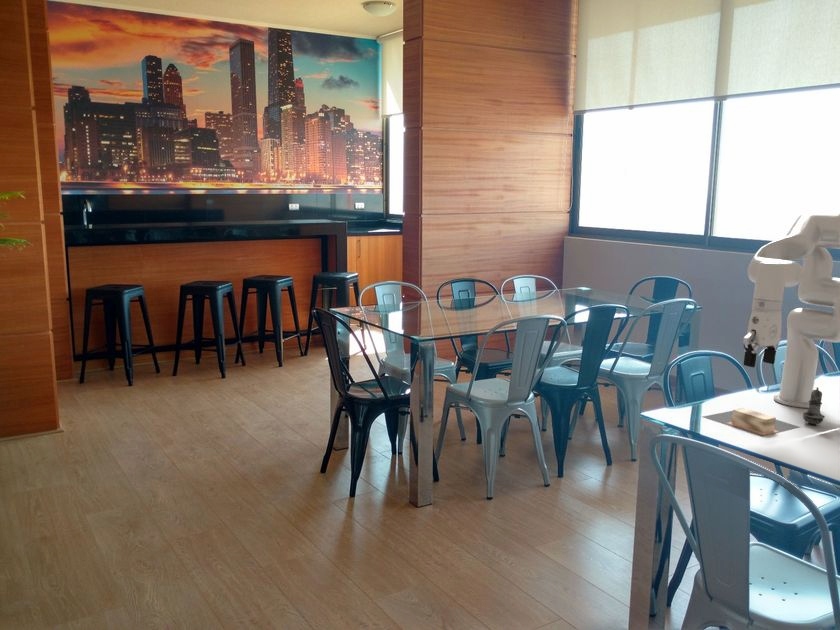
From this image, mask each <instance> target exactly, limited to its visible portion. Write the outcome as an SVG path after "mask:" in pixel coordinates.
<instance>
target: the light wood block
mask: <svg viewBox="0 0 840 630" xmlns="http://www.w3.org/2000/svg"><path fill="white" fill-rule="evenodd" d="M732 411H733V416H732V423H733V424H736V425H739V426H742V427H745V428H748V429H751V430H754V431H758V432H761V433H768V432H772V431H774V427H775V420H777V418H776V417H774V416H772V415H769V414H765V413H762V412H758V411H756V410H752V409H749V408H746V407H741V408H736V409H733V410H732Z"/></svg>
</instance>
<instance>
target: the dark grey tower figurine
mask: <svg viewBox="0 0 840 630" xmlns="http://www.w3.org/2000/svg"><path fill="white" fill-rule="evenodd" d="M822 396H823V392H822V391H820V390H819V386H818V387H816V389H813V391H812V393H811V399H810V401H809V408H807V410H806V411H803V412H802V418H803V420H804V422H805V423H807V425H809V426H812V427H816V426H817V425H819V424H821V423H822V422H823V420H824V419H825V415H824V414H822V412H821V405H823V402H822Z"/></svg>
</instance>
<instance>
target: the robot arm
mask: <svg viewBox="0 0 840 630" xmlns="http://www.w3.org/2000/svg"><path fill="white" fill-rule="evenodd" d="M828 249H835V250H840V213H835V212H834V213H833V212H818V211H817V212H815V211H814V212H813V211H812V212H811V211H810V212H808V211H807V212H805V213H802V214H801V215H799V216H798V217H797V219H795V222H794V223H793V225H792V226H791V228H790V229H789V231H787V233H786V235H785V236H784V237H781V238H779V239H776V240H774V241H771V242H769V243H767V244H764V245H763V246H762V247H760V248H759V249H758V250H757V251H756V252H755V254H754V255H753V257H752V259H751V261H750V263H749V265H748V268H747V277H748V279H749V280H750V281H751V282H752V283H754V290H753V297H752V305H751V314H750V318H749V322H748V327H747V333H746V335H745V336H744V337H743V338H742V341H743V342H742V343H743V349H744V350H743V351H744V357H743V358H744V359H743V366H745V367H749V368H755V367H756V364H757V363H756V361H757V355H758V353H756V352H757V350H758V349H759V347H761V348H764V350H763V357H762V362H763V363H766V364H771V365H774V364H775V361H776V353H777V350H778V345H779V344H780V342H781V338H782V324H783V315H782V314H783V313H782V308H783V302H784V301H783V300H784V295H785V288H794V287H796V286H798V291H797V298H798V300H799V301H800V302H801V303H804V304H807V305H812V306H813V305H814V306H819V307H827V308H832V309H833V310H834V311H829V310H823V309H822V310H821V309H815V308H808V307H797V308H794V309H792V310H791V311H790V312H789V313H788V315H787V320H786V328H787V329H786V331H787V332H786V333H787V337H786V339H787V340H786V348H785V355H784V362H783V368H782V374H781V375H782V376H781V381H780V382H781V383H780V390H779V393H778V394H775V395H774V396H773V400H774V401H775V402H776V403H779V404H782V405H786V406H789V407H794V408H795V407H796V408H803V409H804V408H805V409H809V401H810V399H811V393H812V391H813V390H814V388H815V387H814V385H815V379H816V375H817V374H816V373H817V369H818V368H817V367H818V361H819V349H818V347H817V345H816V344H815V342H814V340H818V341H823V342H830V343H840V277H833V276H832V274H833V273H832V272H833V269H834V260H833V257H832V255H831V253H830V251H829V250H828ZM797 260H803V261H802V265H801V263H799V262H798V261H797Z"/></svg>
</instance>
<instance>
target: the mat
mask: <svg viewBox="0 0 840 630" xmlns="http://www.w3.org/2000/svg"><path fill="white" fill-rule="evenodd" d="M732 416H733V410H729V411H724V412H719V413H714V414H713V413H712V414H709V415H703V416H702V418H704V419H707V420H709V421H712V422H715V423H720V424H722V425H725V426H728V427H731V428H735V429H737V430H740V431H743V432H745V433H746V432H747V433H750V434H753V435H755V436H759V437H766V436H769V435H770V436H771V435H775V434H779V433H782V432H783V433H784V432H786V431H790V430H791V431H792V430H796V429H799V428H801V426H799V425H795V424H792V423H789V422H785V421H784V420H783V421H782V420H779V419H776V420H775V427H774V431H772V432H768V433H761V432H758V431H754V430H751V429H748V428H745V427H742V426H739V425H736V424H733V423H732Z"/></svg>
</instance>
